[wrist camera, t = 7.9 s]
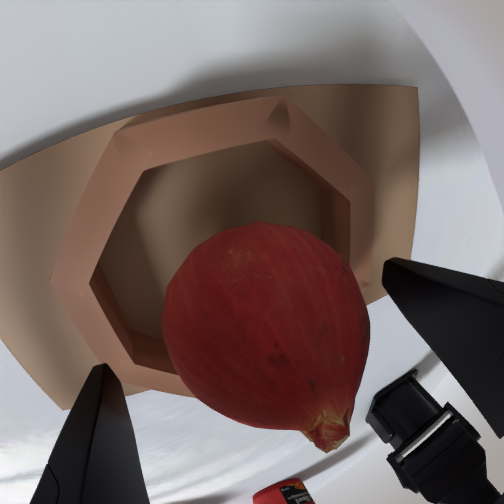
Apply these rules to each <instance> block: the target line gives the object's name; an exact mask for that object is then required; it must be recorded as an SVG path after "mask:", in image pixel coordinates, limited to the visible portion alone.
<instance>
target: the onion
mask: <svg viewBox="0 0 504 504" xmlns="http://www.w3.org/2000/svg"><path fill="white" fill-rule="evenodd" d="M161 319H162V329H163V338H164V343H165V345H166V348H167V350H168V353H169V356H170V358H171V361H172V363H173V365H174V367H175V369H176V371H177V373H178V375H179V376H180V378H181V380H182V382H183V383H184V385H185V386H186V387H187V388H188V389H189V390H190V391H191V393H192V394H193V395H194V396H195V397H196V398H197V399H198V400H200V401H201V402H203V403H204V404H206V405H207V406H209V407H210V408H211V409H213V410H215V411H217V412H218V413H220V414H222V415H224V416H226V417H228V418H230V419H232V420H235V421H237V422H239V423H242V424H245V425H249V426H252V427H255V428H264V429H276V430H298V431H301V432H302V433H303V434H304V435H305V436H306V437H307V438H308V439H309V440H310V441H311V442H314V444H315V446H316V447H317V448H319V449H320V450H322V451H323V452H325V453H328V452H330V451H331V450H335V449H337V448H338V447H339V446H340V445H341V444H342V443H343V442H344V441H345V440H346V439H347V438H348V437H349V436H350V425H349V424H350V421H351V417H352V414H353V410H354V404H355V397H356V394H357V392H358V389H359V387H360V383H361V380H362V376H363V372H364V369H365V365H366V361H367V357H368V351H369V344H370V320H369V315H368V311H367V307H366V304H365V301H364V298H363V296H362V293H361V290H360V288H359V285H358V283H357V280H356V278H355V276H354V274H353V272H352V269H351V267H350V265H349V263H348V262H347V261H346V260H345V259H344V258H343V257H342V256H341V255H339V254H338V253H337V252H336V251H335V250H334V249H333V248H331V247H330V246H329V245H327V244H326V243H324V242H323V241H321V240H320V239H319V238H317V237H316V236H314V235H313V234H311V233H310V232H308V231H305V230H302V229H299V228H296V227H292V226H287V225H281V224H274V223H267V222H260V221H259V222H255V223H251V224H247V225H243V226H239V227H235V228H231V229H227V230H223V231H219V232H218V233H216V234H215V235H213V236H212V237H210V238H209V239H207V240H206V241H204V242H203V243H201V244H200V245H198V246H197V247H195V248H194V249H193V250H192V251H191V253H190V254H189V255H188V257H187V258H186V259H185V261H184V262H183V263H182V265H181V266H180V267H179V269H178V270H177V272H176V273H175V274H174V276H173V278H172V279H171V281H170V282H169V284H168V286H167V289H166V295H165V300H164V306H163V312H162V318H161Z"/></svg>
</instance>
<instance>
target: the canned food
mask: <svg viewBox="0 0 504 504" xmlns="http://www.w3.org/2000/svg"><path fill="white" fill-rule="evenodd" d="M253 503H254V504H315V502H314V501H313V499H312V497H311V496H310V494H309V492H308V491H307V489H306V487H305V486H304V484H303V482H301V481H300V480H299V479H289V480H285V481H282V482H279V483H277V484H274V485H271V486H269V487H267V488H265V489H263V490H261V491H259V492H257V493H256V494H255V495H254V496H253Z"/></svg>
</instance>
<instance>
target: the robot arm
mask: <svg viewBox="0 0 504 504" xmlns="http://www.w3.org/2000/svg"><path fill="white" fill-rule="evenodd" d="M381 281H382V285H383V287H384V289H385V290H386V292H387V293H388V294H389V296H390V297H391V298H392V300H393V301H394V303H395V304H396V305H397V307H398V308H399V310H400V311H401V312H402V314H403V315H404V317H405V318H406V319H407V320H408V322H409V323H410V324H411V325H412V326H413V328H414V329H415V330H416V331H417V332H418V333H419V335H420V336H421V337H422V338H423V339H424V340H425V342H426V343H427V344H428V345H429V346H430V348H431V349H432V350H433V351H434V353H435V354H436V355H437V356H438V357H439V359H440V360H441V361H442V362H443V364H444V365H445V366H446V367H447V369H448V370H449V371H450V372H451V374H452V375H453V376H454V378H455V379H456V380H457V381H458V383H459V384H460V385H461V386H462V388H463V389H464V390H465V392H466V393H467V394H468V396H469V397H470V398H471V400H472V401H473V403H474V404H475V406H476V407H477V408H478V410H479V411H480V412H481V414H482V415H483V416H484V418H485V419H486V421H487V422H488V424H489V425H490V427H491V428H492V429H493V431H494V432H495V434H496V435H497V436H498V438H499V439H501V438H502V437H503V436H504V282H500V281H496V280H492V279H488V278H487V279H486V278H484V277H480V276H475V275H471V274H467V273H463V272H459V271H455V270H451V269H446V268H442V267H438V266H433V265H429V264H425V263H420V262H416V261H412V260H407V259H403V258H398V257H392V258H390V259H388V260H386V261H385V262H384V264H383V272H382V280H381ZM418 372H419V371H418V370H417V369H415V370H413V371H412V372H410V373H409V374H408V375H406V376H405V377H403V378H402V379H400V380H399V381H397V382H396V383H394V384H393V385H391V386H390V387H388V388H387V389H385V390H384V391H382V392H381V393H379V394H377V395H376V396H375V397H374V398H373V401H372V404H371V407H370V409H369V412H368V415H367V417H366V420H365V421H366V423H369V424H370V425H371V427H372V428H373V429H374V431H375V432H376V433H377V434H378V436H379V437H380V438H381V440H382V441H383V442H384V443H386V444H387V443H390V444H391V445H392V447H393V448H394V449H395V451H394V452H391V453H390V454H389V455H388V457H387V459H386V460H387V461H388V462H389V464H390V465H391V466H392V468H393V469H394V471H395V473H396V475H397V477H398V479H399V480H400V483H401V485H402V486H403V488H405V489H410V490H412V491H413V492H414V493H418V492H420V493H421V494H422V495H423V497H424V498H425V499H426V500H427V501H428V502H431V503H434V504H504V493H503V494H502V495H501V494H500V493H499V492H498V491H497V489H496V488H495V487H494V486H493V485H492V484H491V483H490V481H489V480H488V479H487V469H486V456H485V450H484V449H483V448H482V446H481V445H480V444H479V443H478V442H477V441H478V440H479V439H480V438H481V436H480V434H479V433H478V432H477V431H476V430H475V428H474V427H473V426H472V425H471V424H470V423H469V422H468V421H467V420H466V419H465V418H464V417H463V416H462V415H461V414H460V413H459V412H458V411H457V410H456V409H455V408H454V407H453V406H452V405H451V404H450V403H449V402H447V403H446V404H445V405H444V407H443V408H442V407H441V406H440V405H439V404H438V402H437V401H436V400H435V399H434V398H433V397H432V396H431V395H430V394H429V393H428V392H427V391H426V390H425V389H424V388H423V387H422V386H421V385H420V384H419V382H418V381H417V380H416V376H417V374H418ZM448 414H450V415H451V417H450V418H449V419H447V420H446V421H445V422H444V423H443V424H442V425H441V426H440V427H439V428H438V429H437V430H436V431H435V432H434V433H432V434H431V435H430V436H429V437H428V438H427V439H426V440H425V441H423V442H422V443H421V444H420V445H419V446H418V447H417V448H415V449H414V450H413V451H412V452H411V453H409V454H408V455H407V456H406V457H403V456H402V455H404V454H405V453H406V452H407V451H408V450H410V449H411V448H412V447H413V446H414V445H416V444H417V443H418V442H419V441H420V440H421V439H422V438H424V437H425V436H426V435H427V434H428V433H429V432H430V431H431V430H433V429H434V428H435V427H436V426H437V425H438V424H439V423H440V422H441V421H442V420H443V419H444V418H445V417H446V416H447V415H448ZM30 504H150V502H149V498H148V494H147V490H146V486H145V482H144V478H143V474H142V469H141V465H140V460H139V455H138V450H137V445H136V439H135V434H134V430H133V426H132V422H131V419H130V415H129V411H128V408H127V404H126V400H125V395H124V391H123V387H122V384H121V382H120V380H119V378H118V377H117V376H116V374H115V373H114V372H113V370H112V369H111V368H110V366H109V365H108V364H107V363H102V364H98V365H95V366H93V368H92V369H91V371H90V373H89V375H88V377H87V379H86V381H85V383H84V385H83V386H82V388H81V390H80V392H79V394H78V396H77V398H76V400H75V402H74V404H73V406H72V409H71V411H70V413H69V415H68V417H67V419H66V421H65V423H64V425H63V428H62V430H61V432H60V434H59V436H58V439H57V441H56V443H55V445H54V448H53V450H52V452H51V455H50V457H49V460H48V464H46V467H45V469H44V472H43V474H42V476H41V479H40V481H39V484H38V486H37V488H36V491H35V493H34V495H33V497H32V499H31V501H30Z"/></svg>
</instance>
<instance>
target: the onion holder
mask: <svg viewBox="0 0 504 504" xmlns="http://www.w3.org/2000/svg"><path fill="white" fill-rule="evenodd" d="M419 155H420V127H419V101H418V87H409V86H395V85H374V84H328V85H307V86H292V87H281V88H271V89H262V90H254V91H247V92H240V93H233V94H227V95H221V96H215V97H210V98H205V99H200V100H195V101H190V102H186V103H181V104H177V105H173V106H168V107H164V108H161V109H157V110H153V111H149V112H146V113H142V114H139V115H135V116H132V117H128V118H125V119H122V120H119V121H116V122H113V123H110V124H107V125H104V126H101V127H98V128H95V129H92V130H90V131H87V132H84V133H82V134H79V135H76V136H74V137H71V138H69V139H66V140H64V141H62V142H59V143H57V144H55V145H52V146H50V147H48V148H45V149H43V150H41V151H39V152H37V153H35V154H32V155H30V156H28V157H26V158H24V159H22V160H20V161H18V162H16V163H14V164H12V165H10V166H9V167H7V168H5V169H3V170H1V171H0V339H1V340H2V341H3V343H4V344H5V345H6V347H7V348H8V349H9V351H10V352H11V353H12V355H13V356H14V357H15V358H16V360H17V361H18V362H19V363H20V365H21V366H22V367H23V368H24V370H25V371H26V372H27V373H28V374H29V375H30V377H31V378H32V379H33V380H34V381H35V382H36V383H37V384H38V386H39V387H40V388H41V389H42V390H43V391H44V392H45V393H46V394H47V395H48V396H49V397H50V398H51V399H52V400H53V401H54V402H55V403H56V404H57V405H58V406H59V407H60V408H61V409H62V410H67V409H72V406H73V404H74V402H75V400H76V398H77V396H78V394H79V392H80V390H81V388H82V386H83V385H84V383H85V381H86V379H87V377H88V375H89V373H90V371H91V369H92V368H93V366H95V365H98V364H102V363H107V364H108V365H109V366H110V368H111V369H112V370H113V372H114V373H115V374H116V376H117V377H118V378H119V380H120V382H121V384H122V387H123V391H124V395H125V396H129V395H133V394H137V393H141V392H144V391H148V390H151V389H152V390H157V391H161V392H166V393H171V394H176V395H182V396H187V397H193V398H196V397H195V396H194V395H193V394H192V393H191V391H190V390H189V389H188V388H187V387H186V386H185V385H184V383H183V382H182V380H181V378H180V376H179V375H178V373H177V371H176V369H175V367H174V365H173V363H172V361H171V358H170V356H169V353H168V350H167V348H166V345H165V343H164V338H163V329H162V319H161V318H162V312H163V306H164V300H165V295H166V289H167V286H168V284H169V282H170V281H171V279H172V278H173V276H174V274H175V273H176V272H177V270H178V269H179V267H180V266H181V265H182V263H183V262H184V261H185V259H186V258H187V257H188V255H189V254H190V253H191V251H192V250H193V249H194V248H195V247H197V246H198V245H200V244H201V243H203V242H204V241H206V240H207V239H209V238H210V237H212V236H213V235H215V234H216V233H218V232H219V231H223V230H227V229H231V228H235V227H239V226H243V225H247V224H251V223H255V222H259V221H260V222H267V223H274V224H281V225H287V226H292V227H296V228H299V229H302V230H305V231H308V232H310V233H311V234H313V235H314V236H316V237H317V238H319V239H320V240H321V241H323V242H324V243H326V244H327V245H329V246H330V247H331V248H333V249H334V250H335V251H336V252H337V253H338V254H339V255H341V256H342V257H343V258H344V259H345V260H346V261H347V262H348V263H349V265H350V267H351V269H352V272H353V274H354V276H355V278H356V280H357V283H358V285H359V288H360V290H361V293H362V296H363V298H364V301H365V304H366V305H368V304H370V303H372V302H374V301H376V300H378V299H380V298H382V297H384V296H386V295H388V293H387V292H386V290H385V289H384V287H383V285H382V281H381V280H382V272H383V264H384V262H385V261H386V260H388V259H390V258H392V257H398V258H403V259H407V260H410V257H411V251H412V244H413V236H414V228H415V219H416V209H417V197H418V182H419Z"/></svg>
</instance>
